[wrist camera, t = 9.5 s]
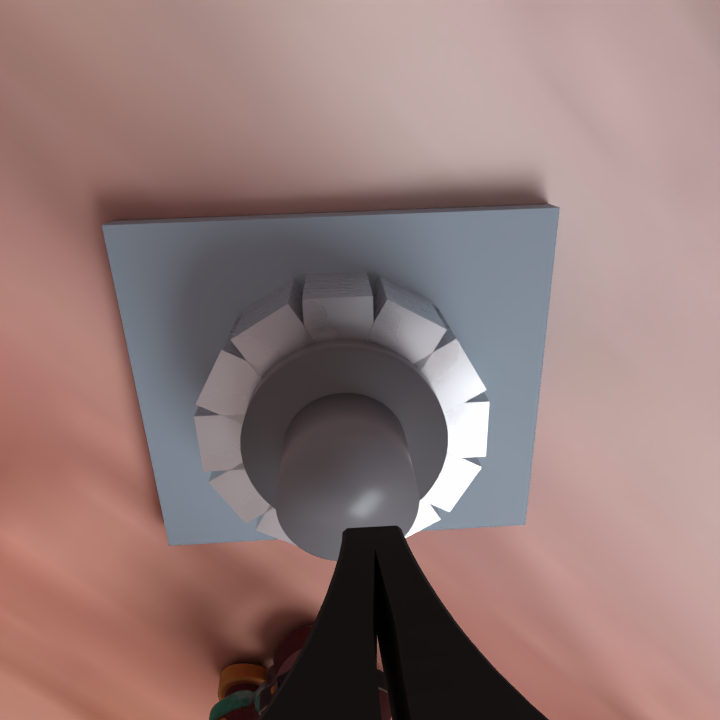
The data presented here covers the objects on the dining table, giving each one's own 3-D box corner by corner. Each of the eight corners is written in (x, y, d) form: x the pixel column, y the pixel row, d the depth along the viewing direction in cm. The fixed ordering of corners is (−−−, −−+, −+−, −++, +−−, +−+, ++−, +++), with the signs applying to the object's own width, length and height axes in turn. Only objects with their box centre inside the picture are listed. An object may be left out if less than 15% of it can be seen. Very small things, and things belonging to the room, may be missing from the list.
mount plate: (549, 203, 20) (559, 207, 20) (518, 510, 26) (525, 524, 25) (112, 220, 20) (101, 225, 19) (174, 530, 25) (169, 545, 24)
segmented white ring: (472, 266, 20) (497, 290, 17) (461, 492, 24) (479, 542, 21) (197, 278, 20) (174, 304, 17) (231, 505, 24) (217, 558, 21)
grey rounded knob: (432, 309, 21) (479, 393, 14) (424, 464, 23) (460, 593, 17) (249, 312, 20) (211, 398, 14) (261, 468, 23) (234, 601, 16)
